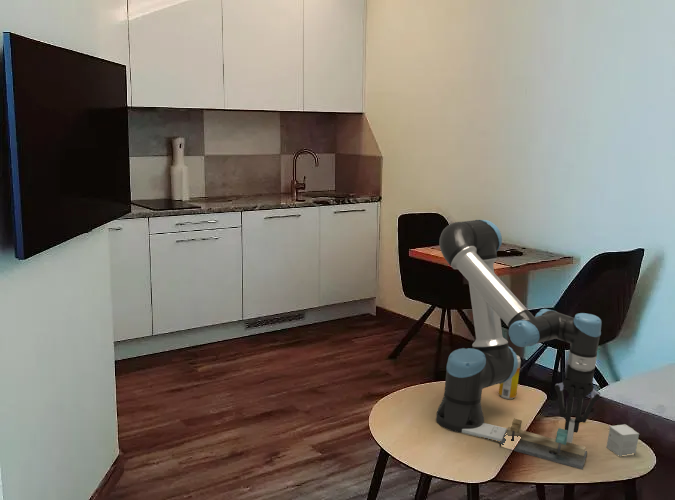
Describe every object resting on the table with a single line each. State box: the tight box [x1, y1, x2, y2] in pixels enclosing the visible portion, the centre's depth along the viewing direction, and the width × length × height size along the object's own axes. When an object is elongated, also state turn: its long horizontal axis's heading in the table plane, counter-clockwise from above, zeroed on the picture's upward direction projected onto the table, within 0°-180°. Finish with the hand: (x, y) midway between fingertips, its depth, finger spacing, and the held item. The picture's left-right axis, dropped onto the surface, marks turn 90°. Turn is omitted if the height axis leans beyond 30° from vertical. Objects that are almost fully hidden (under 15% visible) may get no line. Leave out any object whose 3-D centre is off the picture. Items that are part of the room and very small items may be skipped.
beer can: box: [498, 354, 522, 400], centre depth 242 cm, size 6×6×15 cm
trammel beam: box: [506, 418, 587, 456], centre depth 207 cm, size 23×6×5 cm, turn 64°
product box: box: [606, 423, 640, 456], centre depth 209 cm, size 6×6×7 cm
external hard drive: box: [461, 422, 508, 442], centre depth 215 cm, size 2×8×12 cm
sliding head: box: [555, 427, 568, 453], centre depth 205 cm, size 3×6×5 cm, turn 154°
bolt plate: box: [499, 431, 588, 470], centre depth 207 cm, size 24×10×1 cm, turn 64°
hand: (569, 440), depth 206 cm, fingers closed
